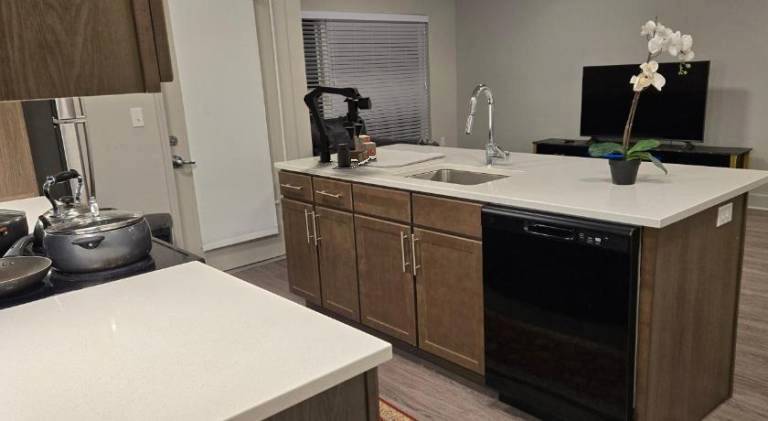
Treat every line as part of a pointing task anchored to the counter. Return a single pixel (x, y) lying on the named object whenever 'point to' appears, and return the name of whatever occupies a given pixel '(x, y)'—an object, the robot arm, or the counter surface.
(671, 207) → the counter surface
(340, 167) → the mat
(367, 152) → the open box
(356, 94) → the robot arm
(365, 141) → the stack of blocks
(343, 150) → the supplement bottle
